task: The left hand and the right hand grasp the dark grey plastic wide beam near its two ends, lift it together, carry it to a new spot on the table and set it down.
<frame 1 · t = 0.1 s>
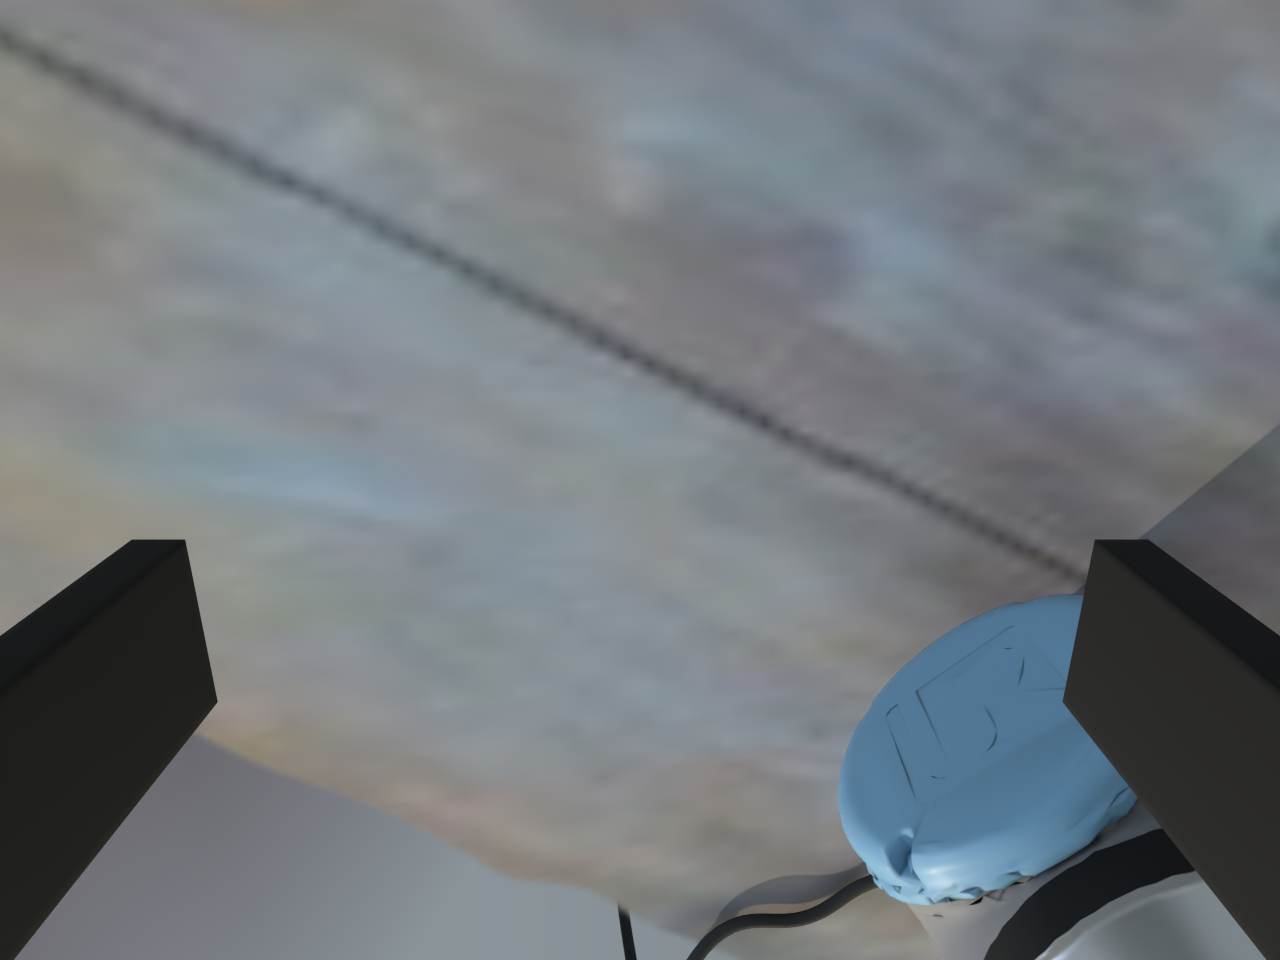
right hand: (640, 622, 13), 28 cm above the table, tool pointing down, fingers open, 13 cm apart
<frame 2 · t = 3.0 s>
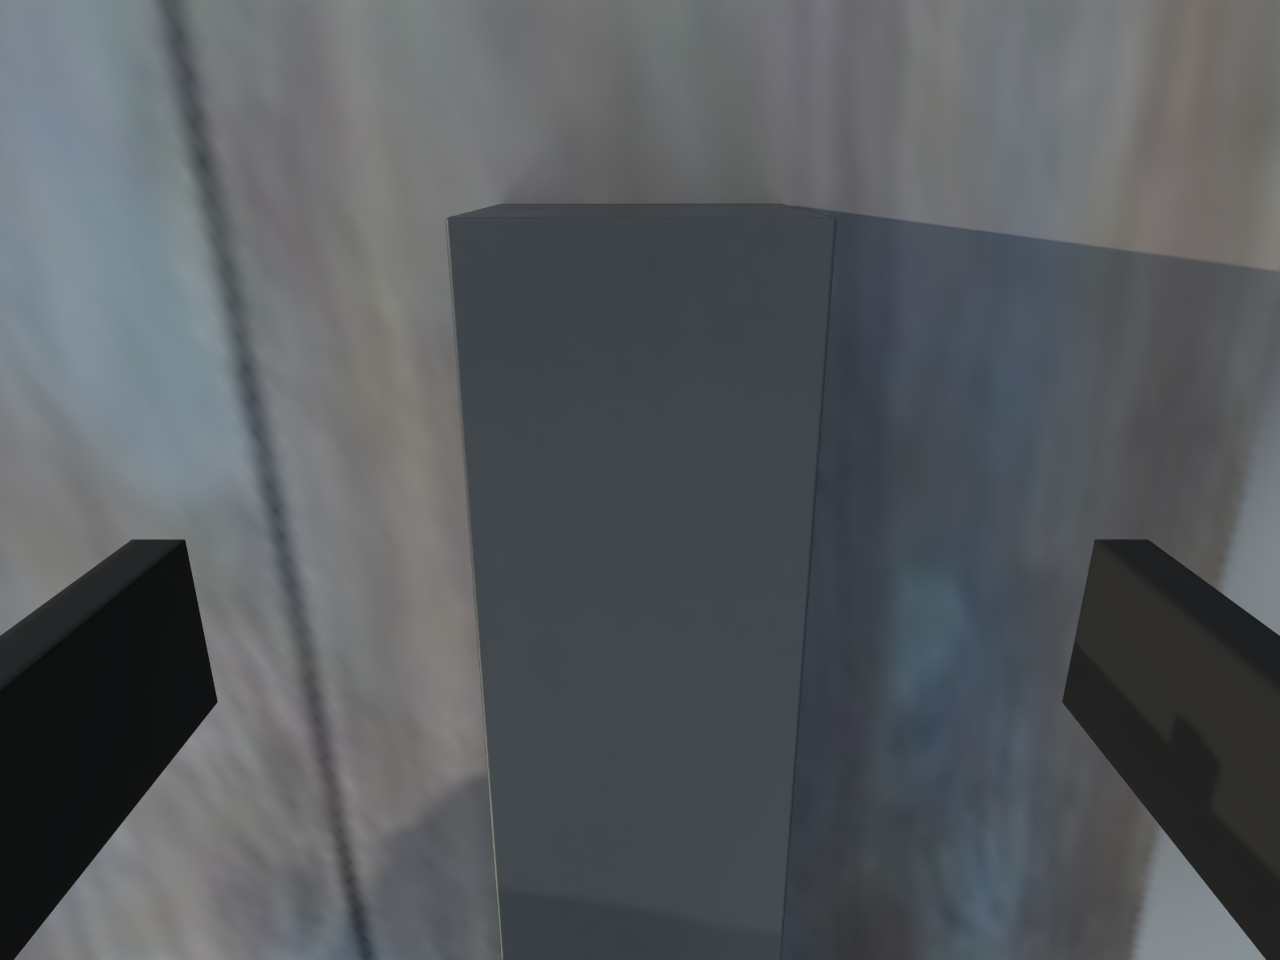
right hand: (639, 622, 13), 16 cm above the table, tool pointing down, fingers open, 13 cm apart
wide beam: (641, 915, 35), on the table, touching left hand
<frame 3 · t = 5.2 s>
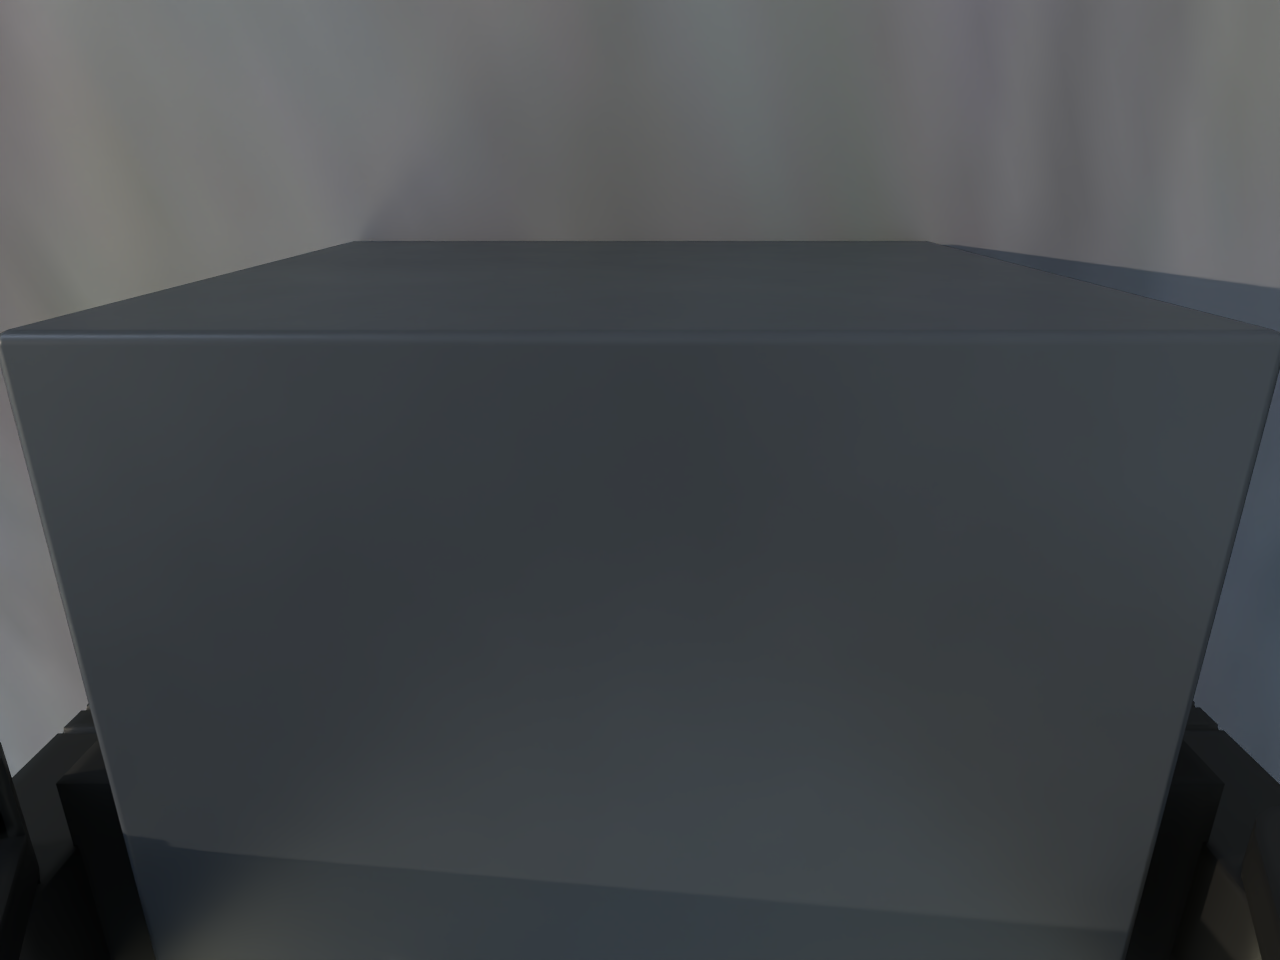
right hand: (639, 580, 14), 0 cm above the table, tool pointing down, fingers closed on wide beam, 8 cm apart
when the right hand's fingers open (2 cm above the table, at t = 11.8 s): wide beam drops 1 cm, on the table.
when the left hand's fingers open (2 cm above the table, at t = 11.9 s): wide beam drops 1 cm, on the table.
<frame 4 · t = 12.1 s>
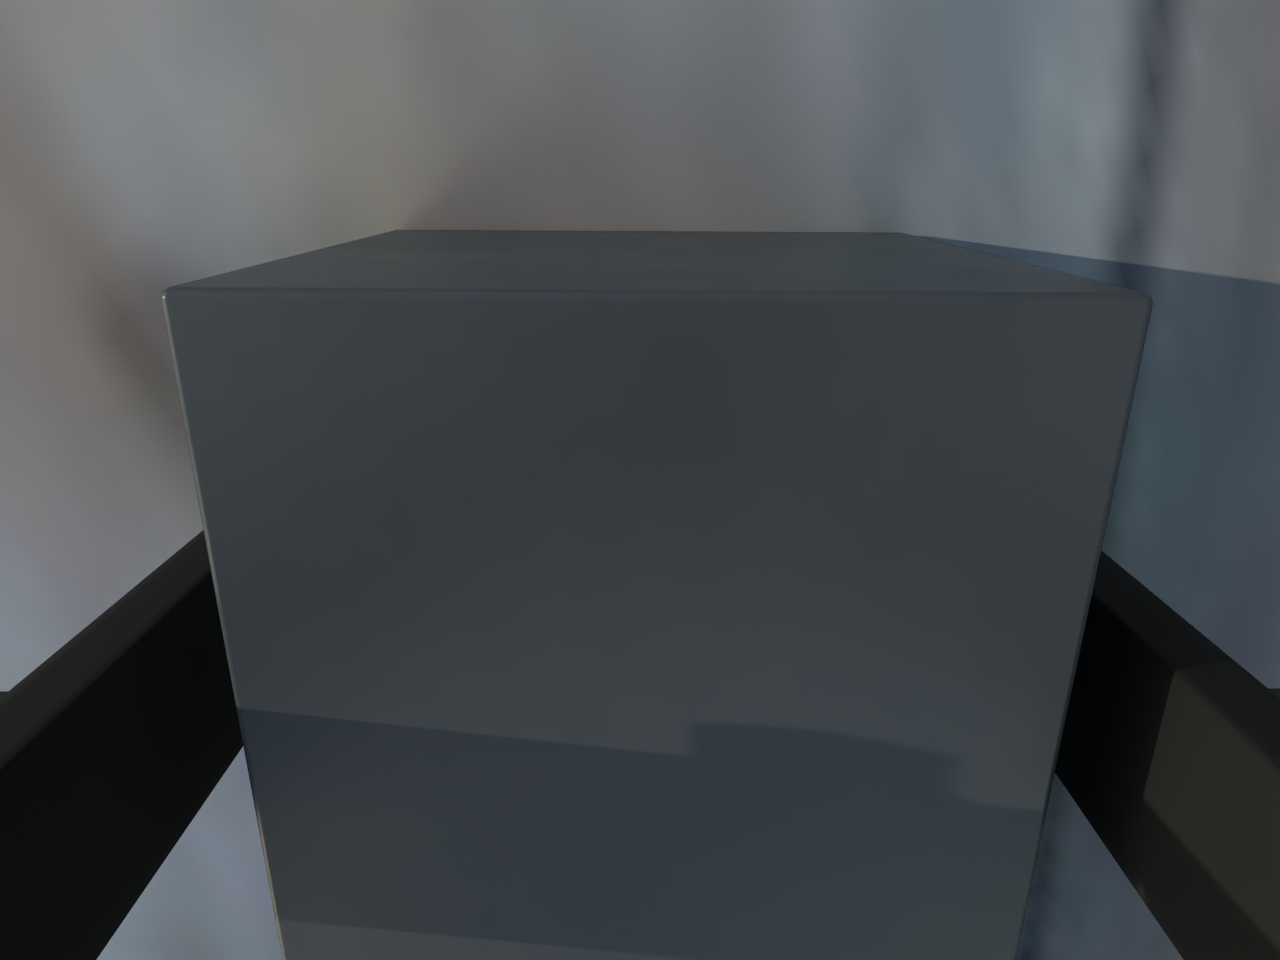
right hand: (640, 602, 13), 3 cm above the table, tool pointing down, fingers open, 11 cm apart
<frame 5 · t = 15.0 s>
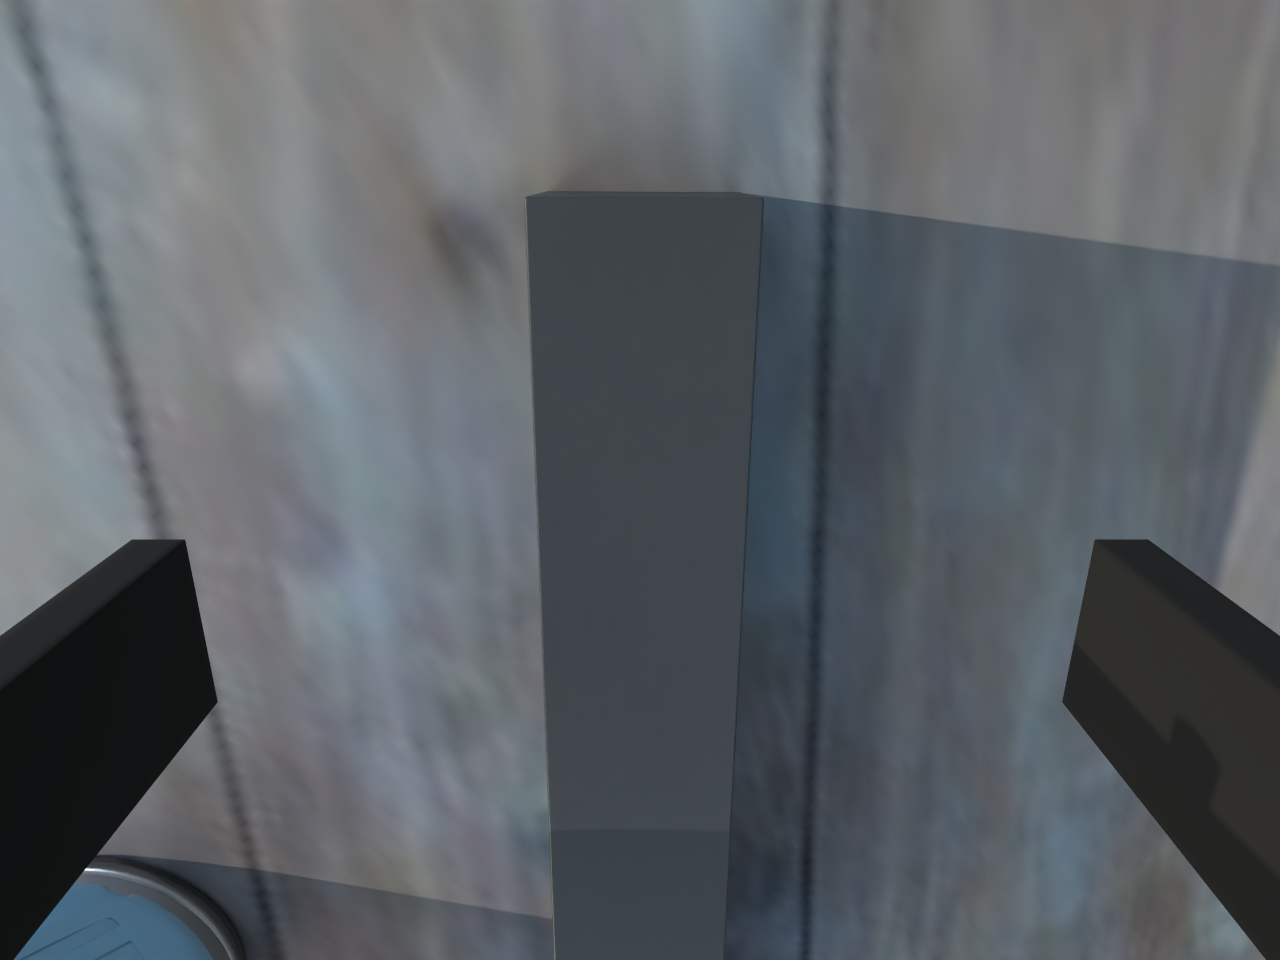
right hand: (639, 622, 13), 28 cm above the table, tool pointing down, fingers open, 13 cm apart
wide beam: (640, 727, 47), on the table
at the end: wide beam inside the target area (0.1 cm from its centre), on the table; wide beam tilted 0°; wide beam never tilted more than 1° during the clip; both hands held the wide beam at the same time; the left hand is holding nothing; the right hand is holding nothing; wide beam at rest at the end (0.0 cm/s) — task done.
